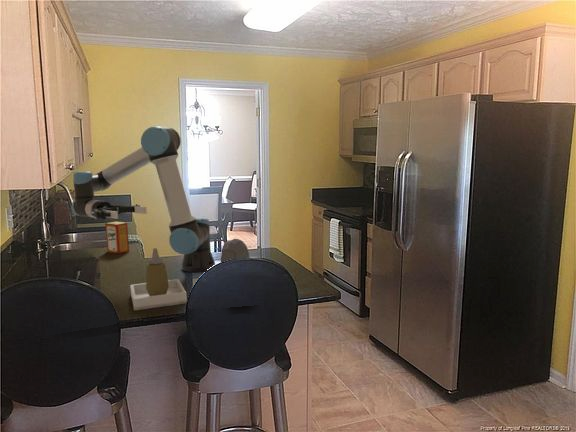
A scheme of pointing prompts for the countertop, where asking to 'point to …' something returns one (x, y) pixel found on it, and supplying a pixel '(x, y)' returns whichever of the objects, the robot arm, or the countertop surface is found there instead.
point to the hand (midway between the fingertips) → (131, 212)
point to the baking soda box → (117, 237)
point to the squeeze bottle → (156, 275)
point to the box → (158, 296)
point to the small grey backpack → (234, 250)
